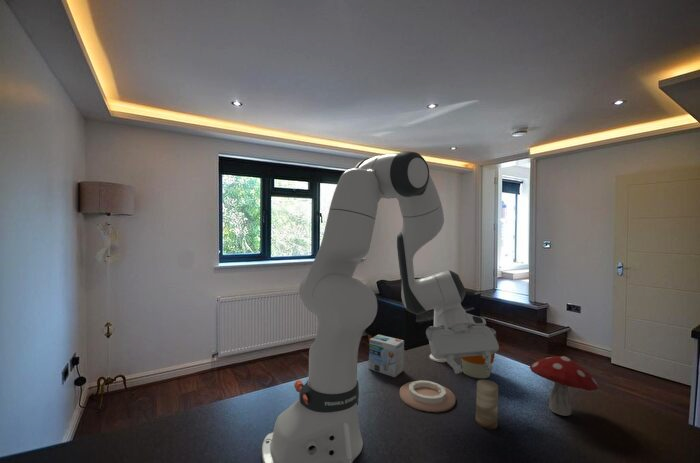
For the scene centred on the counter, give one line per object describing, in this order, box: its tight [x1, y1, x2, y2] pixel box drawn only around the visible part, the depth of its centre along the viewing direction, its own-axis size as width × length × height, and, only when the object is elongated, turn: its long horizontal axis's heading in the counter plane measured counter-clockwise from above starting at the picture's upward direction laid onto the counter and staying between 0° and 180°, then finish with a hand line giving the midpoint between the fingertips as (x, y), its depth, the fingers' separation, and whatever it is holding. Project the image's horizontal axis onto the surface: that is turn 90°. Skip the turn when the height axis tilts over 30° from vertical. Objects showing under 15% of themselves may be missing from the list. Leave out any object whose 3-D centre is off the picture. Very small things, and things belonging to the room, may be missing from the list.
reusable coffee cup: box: [460, 326, 498, 379], centre depth 112 cm, size 13×12×15 cm
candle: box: [429, 309, 447, 363], centre depth 123 cm, size 7×7×25 cm
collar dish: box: [399, 379, 456, 413], centre depth 95 cm, size 16×16×2 cm
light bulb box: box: [368, 334, 405, 378], centre depth 112 cm, size 11×7×11 cm, turn 55°
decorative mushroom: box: [529, 355, 599, 417], centre depth 88 cm, size 16×16×15 cm
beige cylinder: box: [475, 379, 499, 430], centre depth 82 cm, size 5×5×10 cm
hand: (474, 371), depth 88 cm, fingers open, 8 cm apart
